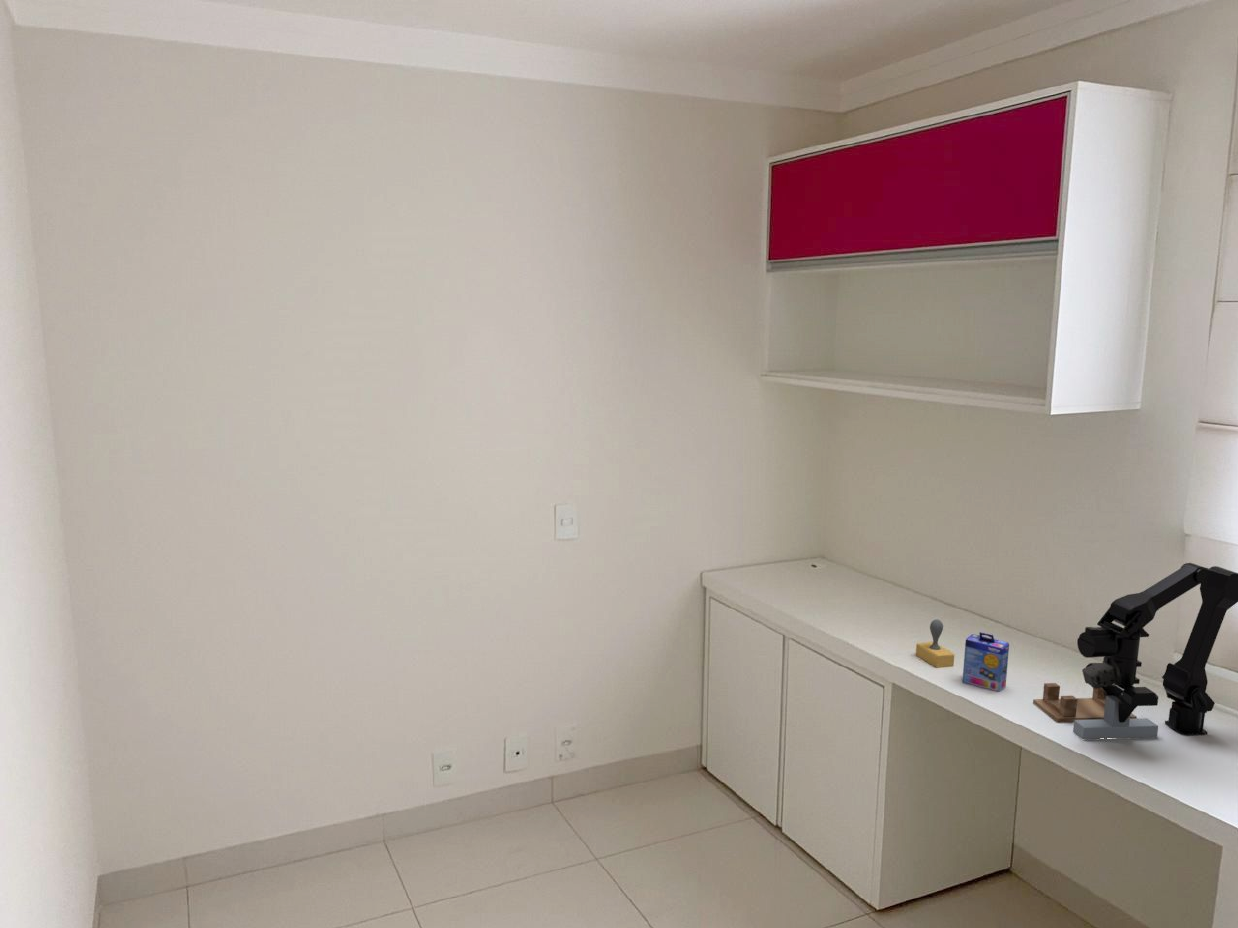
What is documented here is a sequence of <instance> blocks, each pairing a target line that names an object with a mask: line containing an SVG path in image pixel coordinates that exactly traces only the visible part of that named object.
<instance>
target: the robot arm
mask: <svg viewBox="0 0 1238 928" xmlns="http://www.w3.org/2000/svg"><path fill="white" fill-rule="evenodd" d="M1197 586H1199V593H1200V597H1201V601H1202V602H1201V605H1200V607H1199V610H1198V613H1197V616H1196V619H1195V621H1194V624H1193V626H1192V629H1191V632H1190V633H1189V634H1190V635H1189V637H1188V640H1187V642H1186V645H1185V647H1184V650H1183V653H1182V656H1181V658H1180V659H1179V660H1178V661H1177V662H1175V663H1171V662H1168V663H1167V665H1166V669H1165V672H1164V674H1163V675H1162V676H1161V679H1163V680H1162V687H1163V689H1164V691H1165V694H1166V698H1168V699H1171V700H1172V702H1171V707H1169V714H1168V720H1165V721H1164V724H1165V725H1166V726H1169V727H1170V728H1172V729H1173V730H1174V731H1176V732H1177V733H1179V734H1180V735H1183V736H1185V735H1186V736H1188V735H1189V736H1190V735H1193V736H1194V735H1208V733H1209V731H1207V730H1205V729H1204V725H1205V717H1206V714H1207V713H1208V712H1211V711H1213V708H1214V707H1215V705H1216V704H1215V703H1216V702H1215V701H1214V700H1213V699H1212V697H1211V696H1210V695H1209V694H1208V693H1207V686H1208V682H1209V681H1208V675H1207V672H1206V666H1207V663H1208V661H1209V658H1210V656H1211V653H1212V650H1213V648H1214V645H1215V642H1216V640H1217V637H1218V634H1219V631H1220V629H1221V626H1222V624H1223V622H1224V619H1225V617H1226V613H1227V611H1228V610H1229V609H1231V608H1232V607H1234V606H1235V605H1236V604H1238V572H1235V571H1232V570H1229V569H1226V568H1223V567H1220V566H1217V565H1215V566H1211V567H1209V568H1208V567H1205V566H1201V565H1198V564H1196V563H1192V562H1185V563H1183V564H1182V565H1181V566H1180V568H1179V569H1176V571H1173V572H1172V573H1170V574H1169V575H1168V576H1166V577H1164V578H1163V579H1161V580H1159V581H1157V582H1156V583H1155V584H1153V585H1151V586H1150V587H1148V588H1146V589H1144V590H1143V591H1141V592H1137V593H1131V594H1126V595H1124V596H1121V597H1118V598H1116V599H1114V600H1113V601H1112V602H1111V603H1110V606H1109V608H1108V609H1107V610H1106V612H1104V614H1103V616H1101V618H1100V619H1099V621H1098V622H1097V626H1098V627H1095V626H1094V627H1093V626H1085V628H1084V631H1083V632H1081V633H1080V634H1079V636H1078V638H1077V640H1076V641H1077V649H1078V651H1079V653H1080V655H1082V656H1083V657H1084V658H1089V659H1090V658H1103V660H1102V662H1089V663H1088V664H1087V665H1085V667H1084V668H1082V670H1081V672H1082V674H1083V679H1084V682H1085V684H1088V685H1089V686H1091V688H1092V689H1093V688H1095V689H1098V688H1101V689H1102V690H1103V693H1104V696H1105V700H1106V696H1111V695H1114V696H1115V697H1116V699H1117V700H1118V701H1119V722H1120V723H1124V722H1125V721H1126V720H1127V718H1128V717H1129V716H1130V714H1131V713H1132V714H1133V712H1134V711H1135V709H1136V708H1137V707H1147V706H1149V707H1153V706H1154V707H1155V706H1156V707H1157V706H1158V703H1159V695H1158V694H1157V693H1156V692H1154V691H1152V690H1151V689H1150V688H1148V687H1146V686H1134V685H1139V684H1140V681H1141V679H1140V678H1138V677H1136V676H1137V670H1138V669H1137V668H1139V667H1140V668H1142V661H1140V660H1138V659H1139V651H1140V643H1141V642H1140V641H1141V638H1149V637H1150V634H1149V633H1148V632H1147V631H1146V630H1145V627H1146V626H1147V625H1148V624H1149V623H1151V621H1153V620H1154V619H1155V616H1156V613H1157V611H1158V610H1160V609H1161V608H1163V607H1164V606H1166V605H1168V604H1170V603H1171V602H1173V601H1174V600H1176V599H1177V598H1179V597H1181V596H1182V595H1184V594H1186V593H1187V592H1189V591H1191V590H1192V589H1194V588H1196V587H1197ZM1114 622H1115V623H1114ZM1116 623H1117V624H1116ZM1118 624H1119V625H1118ZM1122 626H1123V627H1122Z"/></svg>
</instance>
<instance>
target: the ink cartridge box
mask: <svg viewBox="0 0 1238 928" xmlns="http://www.w3.org/2000/svg"><path fill="white" fill-rule="evenodd" d="M978 633H979V635H978V634H975V633H973V634H971V635H968V637H966V638H965V644H964V645H965V646H964V658H963V670H962V681H961V682H962V683H964V684H969V685H972V686H976V687H979V688H984V689H986V690H990V691H993V692H997V693H998V692H1001V691H1002V690H1003V689H1004V688H1006V686H1007V674H1008V664H1009V663H1008V661H1009V649H1010V643H1009V642H1008V641H1005V640H1001V639H996V638H995V637H994V635H993V634H989V633H985V632H981V631H980V632H978Z"/></svg>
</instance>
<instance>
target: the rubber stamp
mask: <svg viewBox="0 0 1238 928" xmlns="http://www.w3.org/2000/svg"><path fill="white" fill-rule="evenodd" d="M929 630H930V634H931V636H932V637H931V638H932V641H925V642H917V643H916V645H915V646H916V648H915V655H916V656H917V657H918V658H920V659H921V660H922V661H925V662H927V663H928V664H930V665H932V666H933V667H934V668H936V669H939V668H940V669H941V668H950V667H954V663H955V653H954V652H952V651H951V650H949V649H947V648H945V647H943V646H942V645H940V644H938V643H939V639H940V636H941V634H942V633H943V631H944V623H943V622H942V621H941V620H940V619H933V620H932V621H931V623H930V625H929Z"/></svg>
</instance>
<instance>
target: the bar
mask: <svg viewBox="0 0 1238 928" xmlns="http://www.w3.org/2000/svg"><path fill="white" fill-rule="evenodd" d="M1072 728H1073V729H1072V733H1073V732H1074V734H1075V735H1076V736H1077V737H1078V736H1079V737H1078V738H1080V737H1081V738H1082V739H1100V738H1104V739H1103V740H1108V739H1107V738H1138V739H1158V733H1159V725H1157V724H1156V723H1155V722H1154V721H1152V720H1151V719H1149V718H1147V717H1143V718H1140V717H1139V718H1137V719H1130V716H1129V717H1128V718H1127V720H1126V721H1125V722H1124V723H1120V722H1119V701H1118V700H1117V699H1116V697H1115V696H1114V695H1111V696H1106V700H1105V709H1104V718H1103V719H1096V720H1074V722H1073V727H1072ZM1081 738H1080V739H1081ZM1082 739H1081V740H1082ZM1100 740H1101V739H1100Z"/></svg>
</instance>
